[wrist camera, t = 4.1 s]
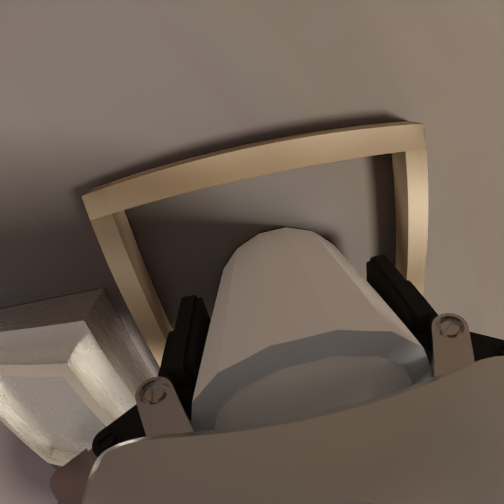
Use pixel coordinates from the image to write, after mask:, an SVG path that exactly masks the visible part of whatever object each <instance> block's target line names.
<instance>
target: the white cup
mask: <svg viewBox="0 0 504 504" xmlns="http://www.w3.org/2000/svg"><path fill="white" fill-rule="evenodd" d="M430 371H431V366H430V364H429V361H428V358H427V356H426V353H425V350H424V348H423V347H422V345H421V344H420V343H419V342H418V340H417V339H416V338H415V337H414V335H413V334H412V333H411V332H410V331H409V329H408V328H407V327H406V326H405V325H404V323H403V322H402V321H401V320H400V319H399V318H398V316H397V315H396V314H395V313H394V312H393V310H392V309H391V308H390V307H389V306H388V305H387V303H386V302H385V301H384V300H383V299H382V298H381V297H380V295H379V294H378V293H377V292H376V291H375V290H374V289H373V287H372V286H371V285H370V284H369V283H368V282H367V281H366V280H365V278H364V277H363V276H362V275H361V274H360V273H359V272H358V271H357V270H356V268H355V267H354V266H353V265H352V264H351V263H350V262H349V261H348V260H347V259H346V258H345V256H344V255H343V254H342V253H341V252H340V251H339V250H338V249H337V248H336V247H335V246H334V245H333V244H332V243H331V242H329V241H327V240H326V239H324V238H323V237H321V236H319V235H318V234H316V233H314V232H313V231H308V230H301V229H294V228H287V227H285V228H281V229H277V230H272V231H268V232H264V233H259V234H258V235H256V236H255V237H253V238H252V239H250V240H249V241H247V242H246V243H244V244H243V245H241V246H240V247H239V248H237V249H236V251H235V252H234V254H233V255H232V257H231V258H230V260H229V261H228V263H227V264H226V266H225V268H224V269H223V273H222V277H221V281H220V285H219V289H218V293H217V297H216V301H215V305H214V310H213V314H212V318H211V322H210V326H209V331H208V335H207V339H206V343H205V348H204V352H203V356H202V360H201V365H200V369H199V374H198V378H197V382H196V387H195V391H194V396H193V400H192V416H191V423H192V425H193V427H194V429H195V431H206V430H216V429H225V428H234V427H242V426H249V425H256V424H262V423H268V422H274V421H280V420H285V419H291V418H296V417H301V416H305V415H310V414H315V413H319V412H323V411H328V410H332V409H336V408H340V407H343V406H347V405H351V404H355V403H358V402H362V401H365V400H368V399H372V398H375V397H378V396H382V395H385V394H388V393H391V392H394V391H397V390H400V389H403V388H406V387H409V386H411V385H414V384H417V383H419V382H422V381H425V380H428V379H430V378H431V375H430Z"/></svg>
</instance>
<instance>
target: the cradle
mask: <svg viewBox="0 0 504 504" xmlns="http://www.w3.org/2000/svg"><path fill="white" fill-rule="evenodd" d="M388 153H392V163H393V175H394V192H395V217H396V265H395V267H396V269H397V270H398V271H399V272H400V273H401V275H402V276H403V277H404V278H405V279H406V280H409V281H410V282H412V284H413V285H414V286H415V287H416V288H417V290H418V291H419V292H420V293H421V295H422V296H423V288H424V279H425V268H426V254H427V236H428V169H427V151H426V138H425V127H424V123H418V122H411V121H403V122H390V123H380V124H370V125H361V126H353V127H345V128H337V129H330V130H323V131H317V132H310V133H304V134H298V135H292V136H287V137H281V138H276V139H271V140H266V141H261V142H256V143H251V144H246V145H242V146H237V147H233V148H228V149H224V150H220V151H216V152H212V153H208V154H204V155H200V156H196V157H192V158H188V159H184V160H181V161H177V162H174V163H170V164H166V165H163V166H160V167H156V168H153V169H149V170H146V171H143V172H140V173H136V174H133V175H130V176H127V177H124V178H121V179H118V180H115V181H112V182H109V183H106V184H103V185H100V186H98V187H95V188H93V189H91V190H90V191H88V192H87V193H85V194H84V195H82V199H83V202H84V205H85V208H86V210H87V213H88V216H89V219H90V221H91V224H92V226H93V229H94V232H95V234H96V237H97V239H98V242H99V244H100V247H101V249H102V251H103V254H104V256H105V259H106V261H107V263H108V266H109V268H110V270H111V272H112V275H113V277H114V279H115V281H116V283H117V286H118V288H119V290H120V292H121V294H122V296H123V298H124V300H125V302H126V304H127V307H128V309H129V311H130V313H131V315H132V317H133V319H134V320H135V322H136V324H137V326H138V328H139V330H140V332H141V334H142V336H143V338H144V340H145V341H146V343H147V345H148V347H149V349H150V350H151V352H152V354H153V356H154V358H155V359H156V361H157V363H158V365H159V366H160V365H161V361H162V357H163V352H164V348H165V344H166V340H167V336H168V333H169V332H170V331H173V329H172V327H171V325H170V322H169V320H168V318H167V316H166V314H165V311H164V309H163V307H162V305H161V302H160V300H159V298H158V295H157V293H156V291H155V288H154V286H153V284H152V281H151V279H150V276H149V274H148V271H147V269H146V267H145V264H144V261H143V259H142V256H141V254H140V251H139V249H138V246H137V243H136V241H135V238H134V235H133V233H132V230H131V227H130V224H129V222H128V219H127V216H126V213H125V210H126V209H129V208H132V207H136V206H139V205H143V204H146V203H150V202H154V201H157V200H161V199H165V198H168V197H172V196H176V195H180V194H184V193H188V192H191V191H195V190H199V189H204V188H208V187H212V186H216V185H220V184H224V183H229V182H233V181H238V180H242V179H247V178H251V177H256V176H261V175H265V174H270V173H275V172H280V171H285V170H290V169H295V168H301V167H306V166H312V165H317V164H323V163H329V162H335V161H341V160H347V159H354V158H360V157H367V156H374V155H381V154H388Z"/></svg>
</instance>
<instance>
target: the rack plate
mask: <svg viewBox="0 0 504 504" xmlns="http://www.w3.org/2000/svg"><path fill="white" fill-rule="evenodd" d="M150 378H153V376H152V375H151V373H150V372H149V370H148V368H147V367H146V365H145V363H144V362H143V360H142V358H141V357H140V355H139V353H138V352H137V350H136V348H135V346H134V345H133V343H132V341H131V339H130V338H129V336H128V334H127V332H126V330H125V329H124V327H123V325H122V323H121V321H120V319H119V317H118V315H117V314H116V312H115V310H114V308H113V306H112V304H111V302H110V300H109V298H108V296H107V294H106V292H105V290H104V288H101V289H96V290H91V291H86V292H81V293H76V294H72V295H67V296H62V297H57V298H52V299H47V300H42V301H37V302H33V303H28V304H23V305H18V306H13V307H8V308H3V309H0V420H1V421H2V422H3V423H4V424H5V425H6V426H7V427H8V428H9V429H10V430H11V431H12V432H13V433H14V434H15V435H16V436H17V437H19V438H20V439H21V440H22V441H23V442H24V443H25V444H26V445H27V446H29V447H30V448H31V449H32V450H33V451H34V452H36V453H37V454H38V455H39V456H40V457H41V458H43V459H44V460H45V461H46V462H48V463H50V464H54V465H59V466H64V465H65V464H66V463H68V462H69V461H70V460H72V459H73V458H74V457H76V456H77V455H78V454H80V453H81V452H82V451H84V450H85V449H86V448H87V449H88V450H90V449H91V448H92V442H93V439H94V438H95V436H96V435H97V434H98V433H99V432H100V431H101V430H102V429H104V428H105V427H107V426H108V425H109V424H111V423H112V422H113V421H115V420H116V419H117V418H119V417H120V416H121V415H123V414H124V413H125V412H127V411H128V410H129V409H131V408H132V407H133V406H135V405H136V400H135V393H136V390H137V389H138V387H139V386H140V385H141V384H142V383H143V382H144V381H146V380H148V379H150Z"/></svg>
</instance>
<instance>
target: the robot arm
mask: <svg viewBox="0 0 504 504" xmlns="http://www.w3.org/2000/svg"><path fill="white" fill-rule="evenodd" d="M366 266H367V282H368V283H369V284H370V285H371V286H372V287H373V289H374V290H375V291H376V292H377V293H378V294H379V295H380V297H381V298H382V299H383V300H384V301H385V302H386V303H387V305H388V306H389V307H390V308H391V309H392V310H393V312H394V313H395V314H396V315H397V316H398V318H399V319H400V320H401V321H402V322H403V323H404V325H405V326H406V327H407V328H408V329H409V331H410V332H411V333H412V334H413V335H414V337H415V338H416V339H417V340H418V342H419V343H420V344H421V345H422V347H423V348H424V350H425V353H426V356H427V358H428V361H429V364H430V366H431V371H430V375H431V378H430V379H428V380H425V381H422V382H419V383H417V384H414V385H411V386H409V387H406V388H403V389H400V390H397V391H394V392H391V393H388V394H385V395H382V396H378V397H375V398H372V399H368V400H365V401H362V402H358V403H355V404H351V405H347V406H343V407H340V408H336V409H332V410H328V411H323V412H319V413H315V414H310V415H305V416H301V417H296V418H291V419H285V420H280V421H274V422H268V423H262V424H256V425H249V426H242V427H234V428H225V429H216V430H206V431H195V429H194V427H193V425H192V423H191V416H192V400H193V396H194V391H195V387H196V382H197V378H198V374H199V369H200V365H201V360H202V356H203V352H204V348H205V343H206V339H207V335H208V331H209V326H210V322H211V321H210V318H209V315H208V313H207V310H206V307H205V304H204V302H203V299H202V298H201V297H200V298H198V297H197V296H196V295H192V296H187V297H183V298H182V300H181V304H180V308H179V312H178V317H177V321H176V325H175V330H173V331H170V332H169V333H168V336H167V340H166V344H165V348H164V352H163V357H162V361H161V365H160V370H159V374H158V377H153V378H150V379H148V380H146V381H144V382H143V383H142V384H141V385H140V386H139V387H138V389H137V390H136V393H135V400H136V405H135V406H133V407H132V408H131V409H129V410H128V411H127V412H125V413H124V414H123V415H121V416H120V417H119V418H117V419H116V420H115V421H113V422H112V423H111V424H109V425H108V426H107V427H105V428H104V429H102V430H101V431H100V432H99V433H98V434H97V435H96V436H95V438H94V439H93V442H92V448H91V449H90V450H88V449H87V448H86V449H85V450H84V451H82V452H81V453H80V454H78V455H77V456H76V457H74V458H73V459H72V460H70V461H69V462H68V463H66V464H65V465H64V466H62V467H61V468H60V469H58V470H57V471H56V472H55V473H54V474H53V475H52V477H51V479H50V488H51V490H52V492H53V494H54V496H55V498H56V500H57V502H58V503H59V504H504V340H501V339H497V338H493V337H489V336H485V335H481V334H477V333H472V332H469V327H468V324H467V322H466V321H465V320H464V319H463V318H462V317H460V316H459V315H456V314H451V313H445V314H441V315H439V316H438V314H437V313H436V312H435V311H434V309H433V308H432V307H431V306H430V304H429V303H428V302H427V301H426V299H425V298H424V297H423V296H422V295H421V293H420V292H419V291H418V290H417V288H416V287H415V286H414V285H413V284H412V282H410V281H409V280H406V279H405V278H404V277H403V276H402V275H401V273H400V272H399V271H398V270H397V269H396V267H395V266H394V265H393V264H392V263H391V262H390V260H389V259H388V258H387V257H386V256H385V255H379V256H375V257H371V258H370V261H369V262H367V265H366Z"/></svg>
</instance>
